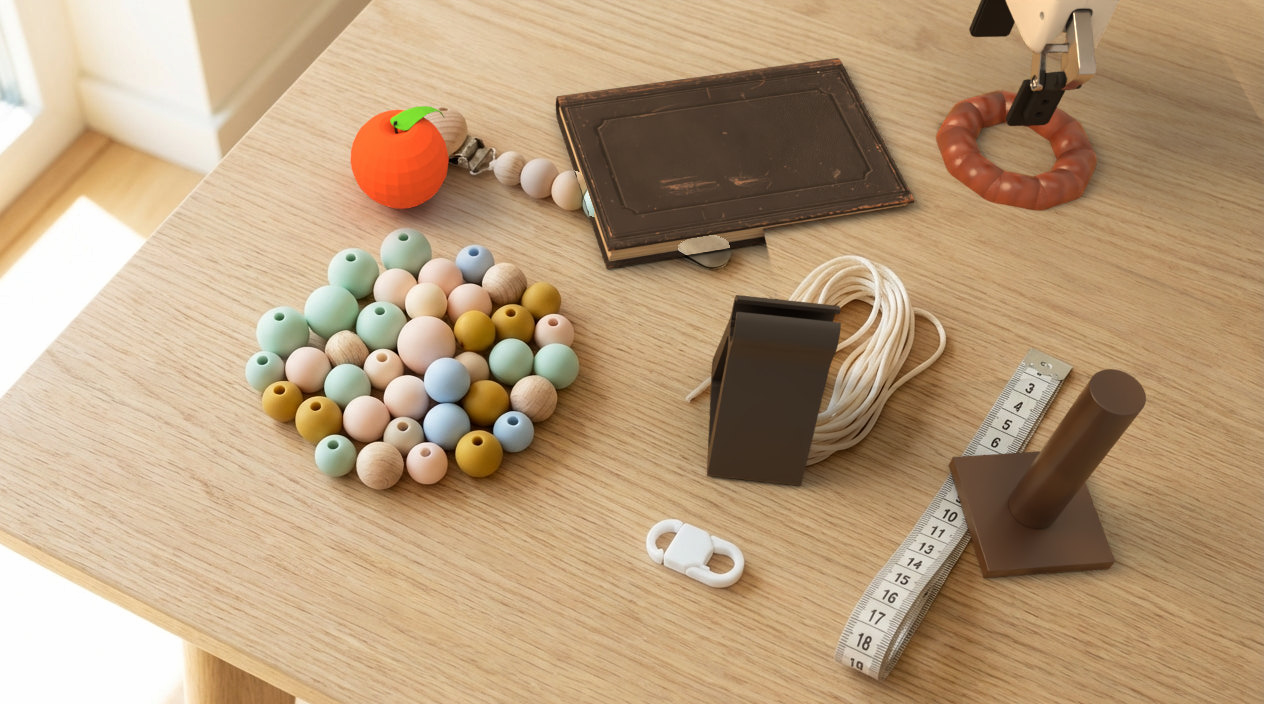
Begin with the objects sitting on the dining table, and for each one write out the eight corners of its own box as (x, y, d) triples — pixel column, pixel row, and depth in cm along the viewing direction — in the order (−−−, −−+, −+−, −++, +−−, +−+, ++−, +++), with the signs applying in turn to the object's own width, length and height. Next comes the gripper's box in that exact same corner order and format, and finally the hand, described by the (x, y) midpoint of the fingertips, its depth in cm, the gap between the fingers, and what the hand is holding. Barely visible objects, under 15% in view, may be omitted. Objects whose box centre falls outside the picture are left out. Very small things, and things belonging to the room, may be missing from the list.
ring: (1056, 106, 98) (1069, 80, 95) (1107, 219, 91) (1122, 193, 89) (916, 112, 97) (926, 85, 94) (957, 226, 90) (969, 200, 88)
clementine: (414, 138, 93) (407, 65, 87) (480, 184, 90) (478, 112, 85) (336, 194, 89) (323, 122, 83) (402, 244, 87) (394, 173, 81)
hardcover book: (906, 221, 90) (915, 199, 88) (606, 269, 86) (608, 248, 84) (831, 75, 99) (837, 53, 97) (555, 113, 95) (555, 91, 93)
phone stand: (712, 362, 82) (739, 245, 72) (800, 372, 82) (840, 256, 72) (705, 477, 77) (733, 368, 67) (800, 488, 77) (842, 381, 67)
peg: (1067, 456, 79) (1162, 327, 68) (1109, 568, 75) (1218, 451, 63) (948, 464, 78) (1023, 335, 67) (983, 578, 74) (1070, 460, 62)
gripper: (1206, -41, 74) (1090, 158, 88) (1110, -202, 84) (1019, 2, 98) (1088, -40, 73) (991, 161, 87) (1005, -202, 83) (929, 3, 97)
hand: (1006, 77), depth 93 cm, fingers open, 9 cm apart
